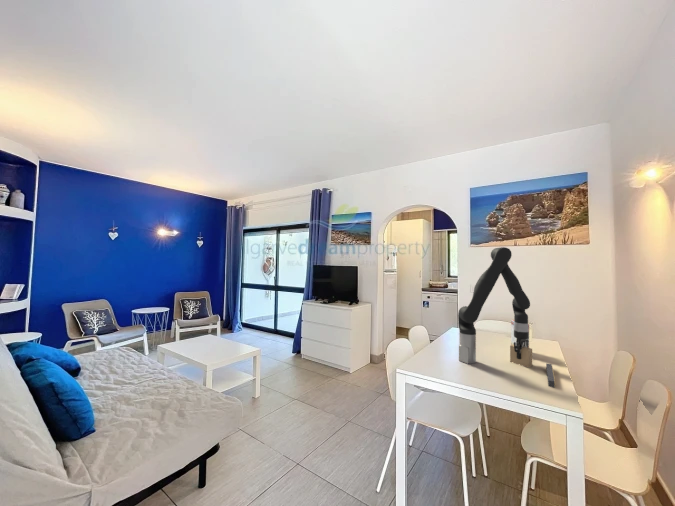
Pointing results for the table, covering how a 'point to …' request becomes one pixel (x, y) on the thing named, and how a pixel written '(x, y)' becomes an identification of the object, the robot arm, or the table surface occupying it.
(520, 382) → the table surface
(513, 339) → the cracker box
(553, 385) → the rail
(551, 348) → the table surface
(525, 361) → the carton
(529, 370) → the table surface
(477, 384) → the table surface
